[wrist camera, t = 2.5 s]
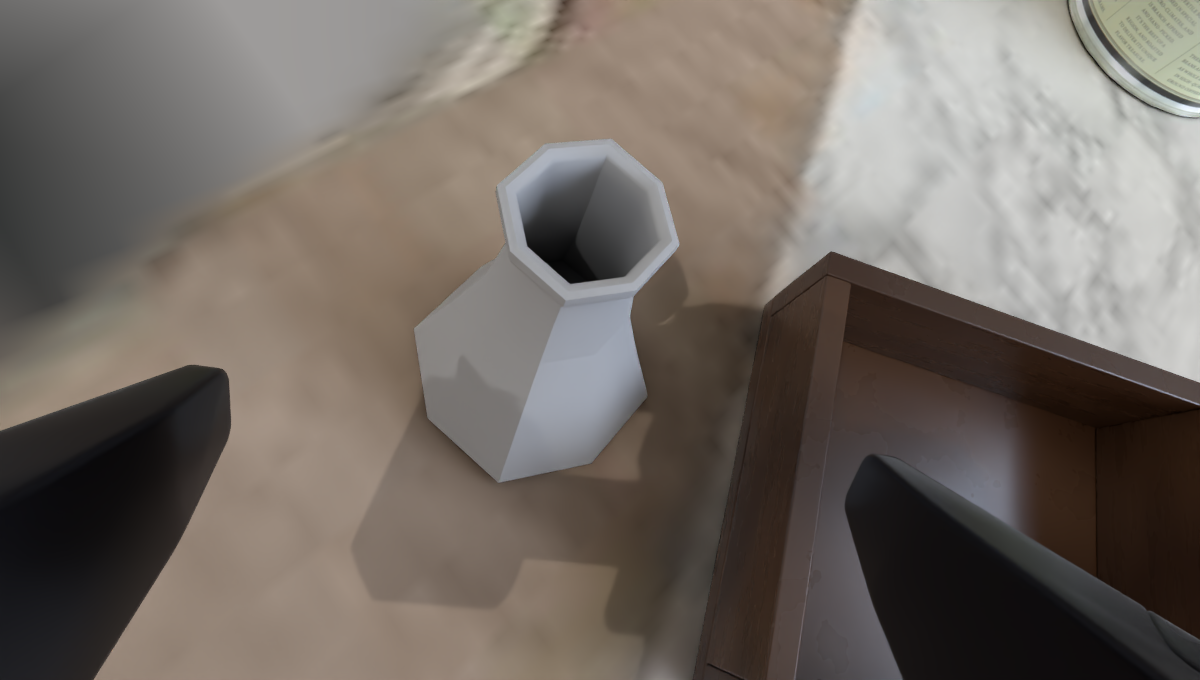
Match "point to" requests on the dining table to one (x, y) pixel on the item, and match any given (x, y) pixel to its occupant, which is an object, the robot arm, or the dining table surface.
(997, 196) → the dining table surface
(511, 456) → the flask
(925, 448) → the crate
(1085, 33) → the coffee can
